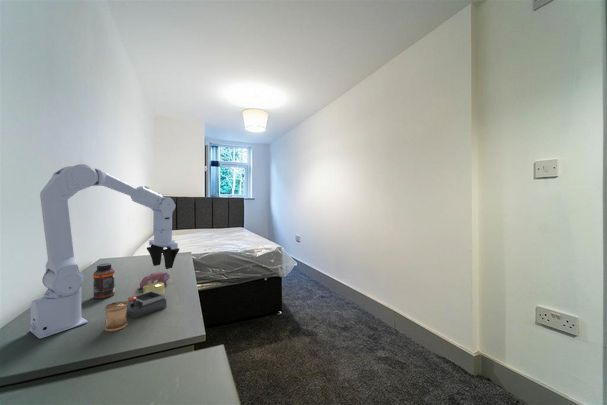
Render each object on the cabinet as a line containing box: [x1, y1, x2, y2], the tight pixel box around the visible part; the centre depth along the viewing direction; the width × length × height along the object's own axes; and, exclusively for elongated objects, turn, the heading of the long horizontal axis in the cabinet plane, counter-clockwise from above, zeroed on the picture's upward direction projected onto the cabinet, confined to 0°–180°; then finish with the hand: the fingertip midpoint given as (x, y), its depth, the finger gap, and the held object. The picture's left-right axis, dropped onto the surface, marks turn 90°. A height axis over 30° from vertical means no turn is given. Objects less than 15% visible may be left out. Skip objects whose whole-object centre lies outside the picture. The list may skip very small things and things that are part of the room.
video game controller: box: [139, 270, 171, 289], centre depth 97 cm, size 10×5×7 cm, turn 143°
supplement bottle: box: [92, 262, 116, 300], centre depth 87 cm, size 6×6×11 cm
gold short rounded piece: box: [142, 281, 165, 295], centre depth 87 cm, size 6×6×4 cm
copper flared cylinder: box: [104, 300, 129, 333], centre depth 66 cm, size 5×5×6 cm
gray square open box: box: [126, 291, 167, 320], centre depth 77 cm, size 9×9×5 cm
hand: (162, 266), depth 89 cm, fingers open, 7 cm apart
